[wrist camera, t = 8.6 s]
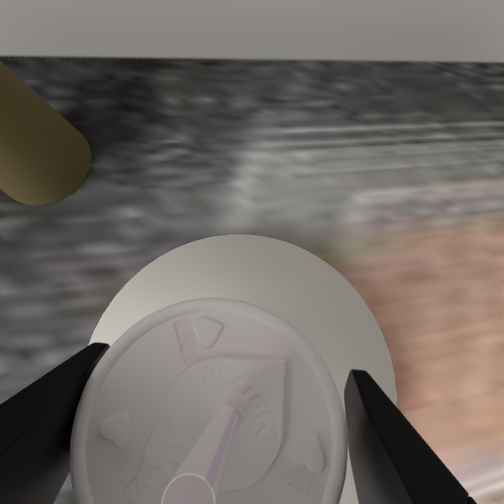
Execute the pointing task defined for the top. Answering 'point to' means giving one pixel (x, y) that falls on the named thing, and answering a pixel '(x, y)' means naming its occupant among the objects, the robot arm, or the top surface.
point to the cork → (37, 146)
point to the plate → (265, 303)
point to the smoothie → (210, 413)
